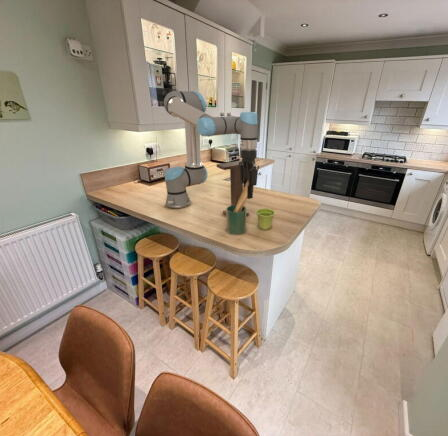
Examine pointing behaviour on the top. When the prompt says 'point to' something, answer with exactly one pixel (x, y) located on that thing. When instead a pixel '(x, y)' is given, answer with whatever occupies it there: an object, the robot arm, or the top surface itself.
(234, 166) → the brown wooden stand
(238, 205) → the stick
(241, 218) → the utensil pot
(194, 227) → the top surface
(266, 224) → the plant pot
